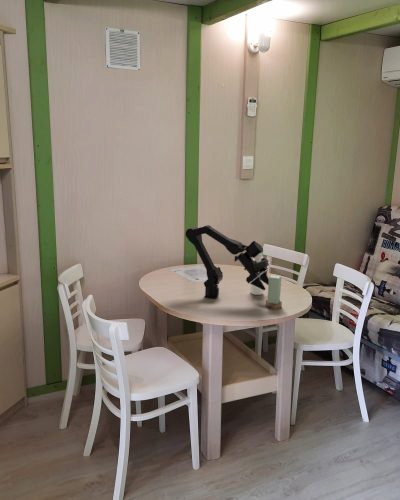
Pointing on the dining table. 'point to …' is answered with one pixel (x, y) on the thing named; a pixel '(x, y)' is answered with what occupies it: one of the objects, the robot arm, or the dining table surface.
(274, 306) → the walnut plinth
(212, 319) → the dining table surface
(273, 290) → the sage post
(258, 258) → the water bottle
